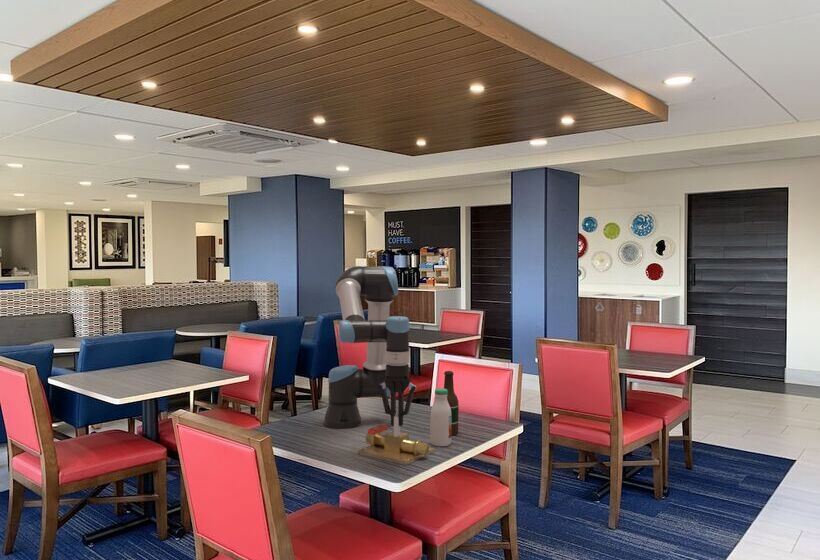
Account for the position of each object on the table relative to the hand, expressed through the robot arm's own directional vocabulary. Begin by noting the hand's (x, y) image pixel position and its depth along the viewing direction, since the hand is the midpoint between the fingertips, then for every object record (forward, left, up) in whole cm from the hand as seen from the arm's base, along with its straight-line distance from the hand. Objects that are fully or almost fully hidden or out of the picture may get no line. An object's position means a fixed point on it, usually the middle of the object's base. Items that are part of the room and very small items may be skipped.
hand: (396, 435), depth 205 cm
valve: (-6, +9, -9) cm, 14 cm away
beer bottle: (-4, +41, -9) cm, 42 cm away
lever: (-6, +2, 0) cm, 7 cm away
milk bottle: (+1, +27, -9) cm, 29 cm away
